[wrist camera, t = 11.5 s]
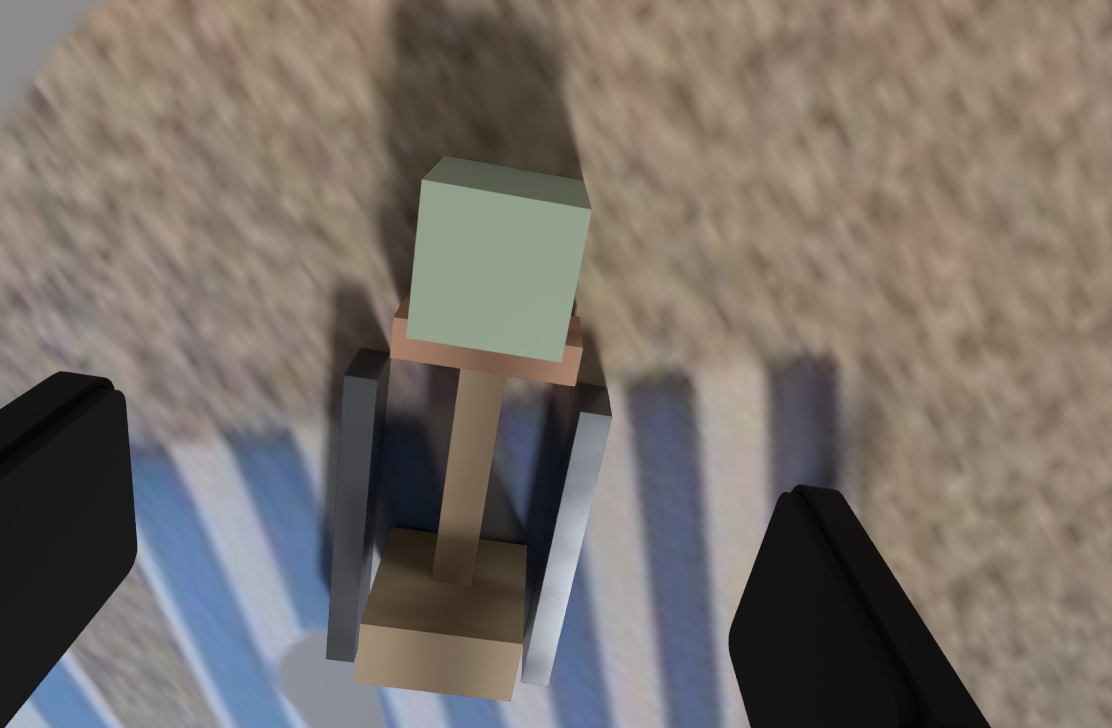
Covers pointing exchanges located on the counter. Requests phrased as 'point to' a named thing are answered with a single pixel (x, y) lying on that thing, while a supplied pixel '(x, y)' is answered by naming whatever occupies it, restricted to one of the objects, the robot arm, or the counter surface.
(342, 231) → the counter surface
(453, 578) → the tan pedestal
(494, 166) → the block
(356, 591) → the dark grey rails
